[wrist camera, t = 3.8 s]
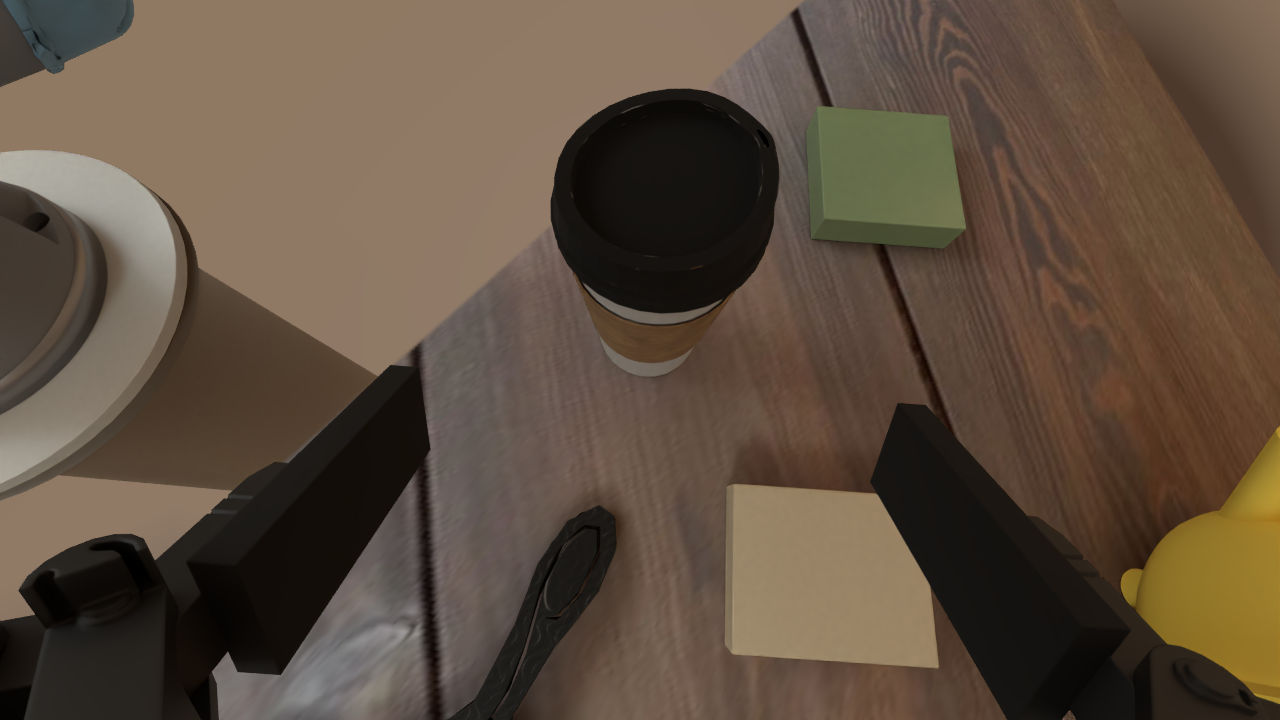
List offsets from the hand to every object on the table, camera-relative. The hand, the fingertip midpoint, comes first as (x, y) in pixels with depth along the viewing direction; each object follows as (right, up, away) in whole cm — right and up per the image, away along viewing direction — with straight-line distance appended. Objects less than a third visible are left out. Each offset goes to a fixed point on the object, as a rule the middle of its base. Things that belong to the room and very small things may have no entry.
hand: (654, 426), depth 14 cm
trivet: (+16, +14, +21) cm, 30 cm away
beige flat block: (+9, -9, +13) cm, 19 cm away
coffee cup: (0, +4, +17) cm, 18 cm away
